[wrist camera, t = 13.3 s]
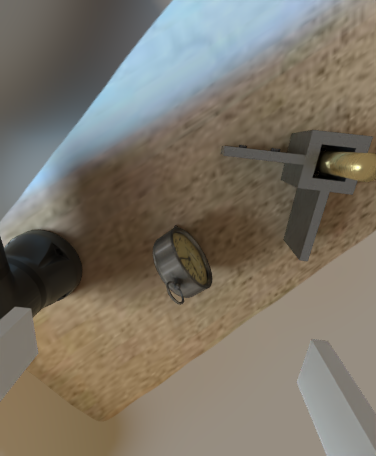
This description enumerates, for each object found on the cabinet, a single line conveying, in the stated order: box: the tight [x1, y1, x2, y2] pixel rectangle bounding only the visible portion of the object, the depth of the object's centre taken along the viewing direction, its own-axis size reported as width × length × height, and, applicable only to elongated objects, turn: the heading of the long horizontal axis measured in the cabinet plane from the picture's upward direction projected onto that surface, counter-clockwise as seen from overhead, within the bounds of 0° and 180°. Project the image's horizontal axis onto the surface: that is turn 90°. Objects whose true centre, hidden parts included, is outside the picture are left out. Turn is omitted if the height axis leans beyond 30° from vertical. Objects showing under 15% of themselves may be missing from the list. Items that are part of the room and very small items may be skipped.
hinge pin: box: [314, 151, 376, 182], centre depth 30 cm, size 3×3×15 cm
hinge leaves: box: [221, 130, 373, 261], centre depth 36 cm, size 18×18×8 cm
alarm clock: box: [153, 225, 212, 305], centre depth 37 cm, size 11×5×16 cm, turn 37°
